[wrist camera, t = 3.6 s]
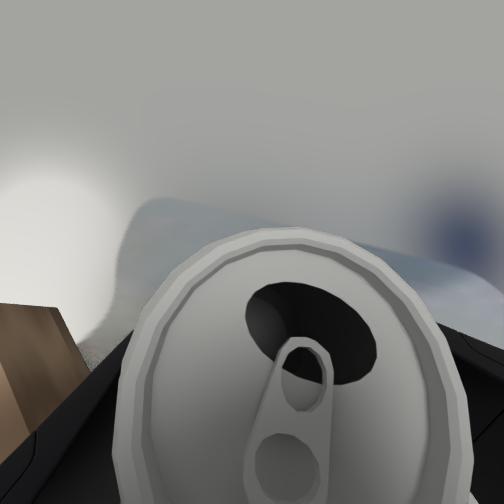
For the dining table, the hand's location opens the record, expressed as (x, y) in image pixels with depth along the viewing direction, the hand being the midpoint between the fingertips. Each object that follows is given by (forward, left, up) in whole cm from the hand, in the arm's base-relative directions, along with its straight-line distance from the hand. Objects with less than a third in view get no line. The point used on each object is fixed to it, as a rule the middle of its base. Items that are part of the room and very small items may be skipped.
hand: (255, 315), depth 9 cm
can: (-1, -1, -7) cm, 7 cm away
